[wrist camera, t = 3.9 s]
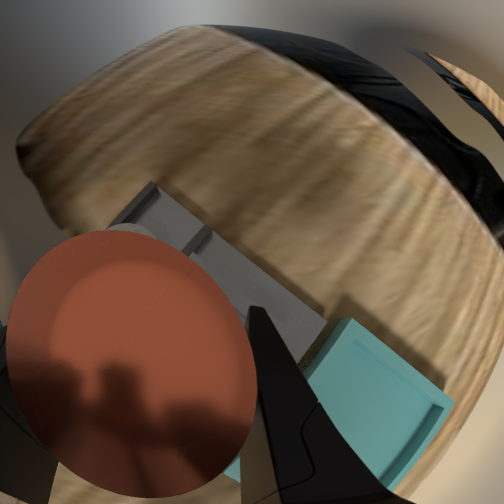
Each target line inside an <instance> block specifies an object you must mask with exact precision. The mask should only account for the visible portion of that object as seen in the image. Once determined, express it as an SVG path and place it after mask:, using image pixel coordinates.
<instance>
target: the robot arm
mask: <svg viewBox="0 0 504 504" xmlns="http://www.w3.org/2000/svg"><path fill="white" fill-rule="evenodd" d="M244 329H245V331H246V334H247V337H248V340H249V343H250V346H251V349H252V352H253V357H254V363H255V368H256V377H257V399H256V410H255V414H254V418H253V422H252V426H251V429H250V432H249V434H248V436H247V439H246V441H245V443H244V445H243V447H242V448H241V450H240V481H241V504H415V503H413V502H411V501H408V500H406V499H404V498H401V497H399V496H398V495H396V494H394V493H393V492H391V491H390V490H389V489H387V488H386V487H385V486H384V485H383V484H382V483H381V482H380V481H379V480H378V479H377V478H376V476H375V475H374V474H373V473H372V472H371V470H370V469H369V468H368V467H367V466H366V465H365V463H364V462H363V461H362V460H361V459H360V457H359V456H358V455H357V454H356V453H355V451H354V450H353V449H352V448H351V446H350V445H349V444H348V443H347V441H346V440H345V439H344V437H343V436H342V435H341V433H340V432H339V431H338V429H337V428H336V426H335V425H334V423H333V422H332V420H331V419H330V417H329V416H328V414H327V413H326V411H325V409H324V408H323V406H322V404H321V403H320V402H318V401H319V400H318V398H317V396H316V394H315V393H314V391H313V389H312V388H311V386H310V384H309V383H308V381H307V379H306V378H305V376H304V374H303V373H302V371H301V369H300V368H299V366H298V364H297V363H296V361H295V359H294V357H293V356H292V354H291V352H290V351H289V349H288V347H287V346H286V344H285V342H284V340H283V339H282V337H281V335H280V334H279V332H278V330H277V328H276V327H275V325H274V323H273V322H272V320H271V318H270V316H269V315H268V313H267V311H266V309H265V308H264V307H261V306H255V305H250V306H249V308H248V312H247V317H246V322H245V327H244ZM6 333H7V325H6V326H4V327H3V328H1V329H0V504H18V500H21V501H23V502H26V503H28V504H48V502H49V497H50V493H51V489H52V485H53V481H54V477H55V473H56V469H57V466H58V462H59V461H58V460H57V459H56V458H55V457H54V456H53V455H52V454H51V453H50V452H49V451H48V450H47V449H46V448H45V447H44V445H43V444H42V443H41V442H40V441H39V439H38V438H37V437H36V435H35V434H34V432H33V431H32V429H31V428H30V426H29V425H28V423H27V421H26V419H25V418H24V416H23V414H22V412H21V410H20V408H19V405H18V403H17V400H16V398H15V395H14V392H13V389H12V386H11V382H10V378H9V373H8V367H7V358H6Z"/></svg>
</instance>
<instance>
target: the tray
mask: <svg viewBox="0 0 504 504" xmlns="http://www.w3.org/2000/svg"><path fill="white" fill-rule="evenodd" d="M302 373H303V374H304V376H305V378H306V379H307V381H308V383H309V384H310V386H311V388H312V389H313V391H314V393H315V394H316V396H317V398H318V400H319V401H318V402H320V403H321V404H322V406H323V408H324V409H325V411H326V413H327V414H328V416H329V417H330V419H331V420H332V422H333V423H334V425H335V426H336V428H337V429H338V431H339V432H340V433H341V435H342V436H343V437H344V439H345V440H346V441H347V443H348V444H349V445H350V446H351V448H352V449H353V450H354V451H355V453H356V454H357V455H358V456H359V457H360V459H361V460H362V461H363V462H364V463H365V465H366V466H367V467H368V468H369V469H370V470H371V472H372V473H373V474H374V475H375V476H376V478H377V479H378V480H379V481H380V482H381V483H382V484H383V485H384V486H385V487H386V488H387V489H389V490H390V491H391V492H392V491H393V490H394V489H395V488H396V486H397V485H398V484H399V483H400V482H401V481H402V479H403V478H404V477H405V476H406V475H407V473H408V472H409V471H410V470H411V468H412V467H413V466H414V465H415V463H416V462H417V461H418V459H419V458H420V457H421V455H422V454H423V452H424V451H425V450H426V448H427V447H428V445H429V444H430V442H431V441H432V439H433V438H434V436H435V435H436V433H437V432H438V430H439V429H440V427H441V426H442V424H443V422H444V421H445V419H446V417H447V416H448V414H449V412H450V410H451V409H452V407H453V405H454V403H455V402H454V401H453V400H452V399H451V398H450V397H448V396H447V395H446V394H445V393H444V392H442V391H441V390H440V389H439V388H438V387H436V386H435V385H434V384H433V383H432V382H430V381H429V380H428V379H427V378H425V377H424V376H423V375H422V374H421V373H419V372H418V371H417V370H416V369H415V368H413V367H412V366H411V365H410V364H408V363H407V362H406V361H405V360H404V359H402V358H401V357H400V356H399V355H397V354H396V353H395V352H394V351H393V350H391V349H390V348H389V347H388V346H386V345H385V344H384V343H383V342H381V341H380V340H379V339H378V338H377V337H375V336H374V335H373V334H372V333H370V332H369V331H368V330H367V329H365V328H364V327H363V326H362V325H360V324H359V323H358V322H357V321H356V320H354V319H353V318H343V319H340V320H339V322H338V323H337V325H336V326H335V328H334V329H333V331H332V332H331V334H330V335H329V336H328V338H327V339H326V341H325V342H324V344H323V345H322V346H321V348H320V349H319V350H318V352H317V353H316V354H315V356H314V357H313V359H312V360H311V361H310V363H309V364H308V365H307V366H306V368H305V369H304V370H303V372H302ZM223 474H225V475H227V476H228V477H230V478H232V479H234V480H236V481H238V482H239V483H241V481H240V451H239V453H238V455H237V456H236V458H235V459H234V460H233V461H232V462H231V463H230V465H229V466H228V467H227V468H226V469H225V470H224V471H223Z"/></svg>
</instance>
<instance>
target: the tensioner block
mask: <svg viewBox="0 0 504 504" xmlns="http://www.w3.org/2000/svg"><path fill="white" fill-rule="evenodd" d="M106 230H120V231H130V232H135V233H139V234H143V235H147V236H150V237H152V238H155V239H157V240H160V241H162V242H165V243H166V244H168V245H170V246H172V247H174V248H175V249H177V250H179V251H181V252H182V253H183V254H185V255H186V256H188V257H189V258H190V259H192V260H193V261H194V262H196V263H197V264H198V265H199V266H200V267H201V268H202V269H203V270H204V271H205V272H206V273H207V274H209V275H210V276H211V277H212V279H213V280H214V281H215V282H216V283H217V285H218V286H219V287H220V288H221V290H222V291H223V292H224V293H225V295H226V296H227V298H228V299H229V301H230V302H231V304H232V306H233V307H234V309H235V310H236V312H237V314H238V316H239V318H240V320H241V322H242V324H243V327H245V322H246V317H247V312H248V308H249V306H250V305H255V306H261V307H264V308H265V309H266V311H267V313H268V315H269V316H270V318H271V320H272V322H273V323H274V325H275V327H276V328H277V330H278V332H279V334H280V335H281V337H282V339H283V340H284V342H285V344H286V346H287V347H288V349H289V351H290V352H291V354H292V356H293V357H294V359H295V361H296V363H298V362H299V360H300V359H301V358H302V356H303V355H304V354H305V353H306V351H307V350H308V349H309V347H310V346H311V344H312V343H313V342H314V340H315V339H316V338H317V336H318V335H319V333H320V332H321V331H322V329H323V328H324V326H325V325H326V324H327V322H328V321H327V320H325V319H324V318H323V317H321V316H320V315H319V314H318V313H316V312H315V311H314V310H312V309H311V308H310V307H309V306H307V305H306V304H305V303H304V302H302V301H301V300H300V299H298V298H297V297H296V296H295V295H293V294H292V293H291V292H290V291H288V290H287V289H286V288H284V287H283V286H282V285H281V284H279V283H278V282H277V281H276V280H274V279H273V278H272V277H271V276H269V275H268V274H267V273H265V272H264V271H263V270H262V269H260V268H259V267H258V266H257V265H255V264H254V263H253V262H252V261H250V260H249V259H248V258H247V257H245V256H244V255H243V254H241V253H240V252H239V251H238V250H236V249H235V248H234V247H233V246H231V245H230V244H229V243H228V242H226V241H225V240H224V239H223V238H221V237H220V236H219V235H218V234H216V233H215V232H214V231H213V230H212V229H210V228H209V227H208V226H207V225H205V224H204V223H203V222H201V221H200V220H199V219H198V218H196V217H195V216H194V215H193V214H191V213H190V212H189V211H188V210H186V209H185V208H184V207H183V206H181V205H180V204H179V203H178V202H176V201H175V200H174V199H173V198H171V197H170V196H169V195H168V194H167V193H165V192H164V191H163V190H162V189H160V188H159V187H158V186H157V185H156V184H154V183H153V182H152V181H151V182H150V183H149V184H148V185H147V186H146V187H145V188H144V189H143V190H142V191H141V192H140V193H139V194H138V195H137V196H136V197H135V198H134V199H133V200H132V201H131V202H130V203H129V204H128V205H127V207H126V208H125V209H124V210H123V211H122V212H121V213H120V214H119V215H118V216H117V218H116V219H115V220H114V221H113V222H112V223H111V224H110V225H109V227H108V228H107V229H106Z"/></svg>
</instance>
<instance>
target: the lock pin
mask: <svg viewBox="0 0 504 504" xmlns="http://www.w3.org/2000/svg"><path fill="white" fill-rule="evenodd" d="M6 358H7V367H8V373H9V378H10V382H11V386H12V389H13V392H14V395H15V398H16V400H17V403H18V405H19V408H20V410H21V412H22V414H23V416H24V418H25V419H26V421H27V423H28V425H29V426H30V428H31V429H32V431H33V432H34V434H35V435H36V437H37V438H38V439H39V441H40V442H41V443H42V444H43V445H44V447H45V448H46V449H47V450H48V451H49V452H50V453H51V454H52V455H53V456H54V457H55V458H56V459H57V460H58V461H59V462H60V463H61V464H63V465H64V466H65V467H66V468H68V469H69V470H70V471H72V472H73V473H74V474H76V475H78V476H79V477H81V478H83V479H84V480H86V481H88V482H90V483H92V484H94V485H96V486H98V487H100V488H103V489H105V490H108V491H111V492H114V493H117V494H121V495H126V496H131V497H139V498H163V497H171V496H175V495H180V494H184V493H187V492H189V491H192V490H195V489H197V488H199V487H201V486H203V485H205V484H206V483H208V482H210V481H212V480H213V479H214V478H215V477H217V476H218V475H219V474H220V473H222V472H223V471H224V470H225V469H226V468H227V467H228V466H229V465H230V463H231V462H232V461H233V460H234V459H235V458H236V456H237V455H238V453H239V451H240V450H241V448H242V447H243V445H244V443H245V441H246V439H247V436H248V434H249V432H250V429H251V426H252V422H253V418H254V414H255V410H256V399H257V377H256V368H255V363H254V357H253V352H252V349H251V346H250V343H249V340H248V337H247V334H246V331H245V329H244V327H243V324H242V322H241V320H240V318H239V316H238V314H237V312H236V310H235V309H234V307H233V306H232V304H231V302H230V301H229V299H228V298H227V296H226V295H225V293H224V292H223V291H222V290H221V288H220V287H219V286H218V285H217V283H216V282H215V281H214V280H213V279H212V277H211V276H210V275H209V274H207V273H206V272H205V271H204V270H203V269H202V268H201V267H200V266H199V265H198V264H197V263H196V262H194V261H193V260H192V259H190V258H189V257H188V256H186V255H185V254H183V253H182V252H181V251H179V250H177V249H175V248H174V247H172V246H170V245H168V244H166V243H165V242H162V241H160V240H157V239H155V238H152V237H150V236H147V235H143V234H139V233H135V232H130V231H120V230H103V231H94V232H90V233H85V234H81V235H79V236H76V237H73V238H71V239H68V240H66V241H65V242H63V243H61V244H59V245H57V246H56V247H55V248H53V249H52V250H50V251H49V252H48V253H46V254H45V255H44V256H43V257H42V258H41V259H40V260H39V261H38V262H37V263H36V264H35V265H34V266H33V267H32V269H31V270H30V271H29V273H28V274H27V276H26V277H25V278H24V280H23V282H22V284H21V286H20V287H19V289H18V291H17V294H16V296H15V299H14V302H13V304H12V308H11V311H10V315H9V319H8V325H7V333H6Z"/></svg>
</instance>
